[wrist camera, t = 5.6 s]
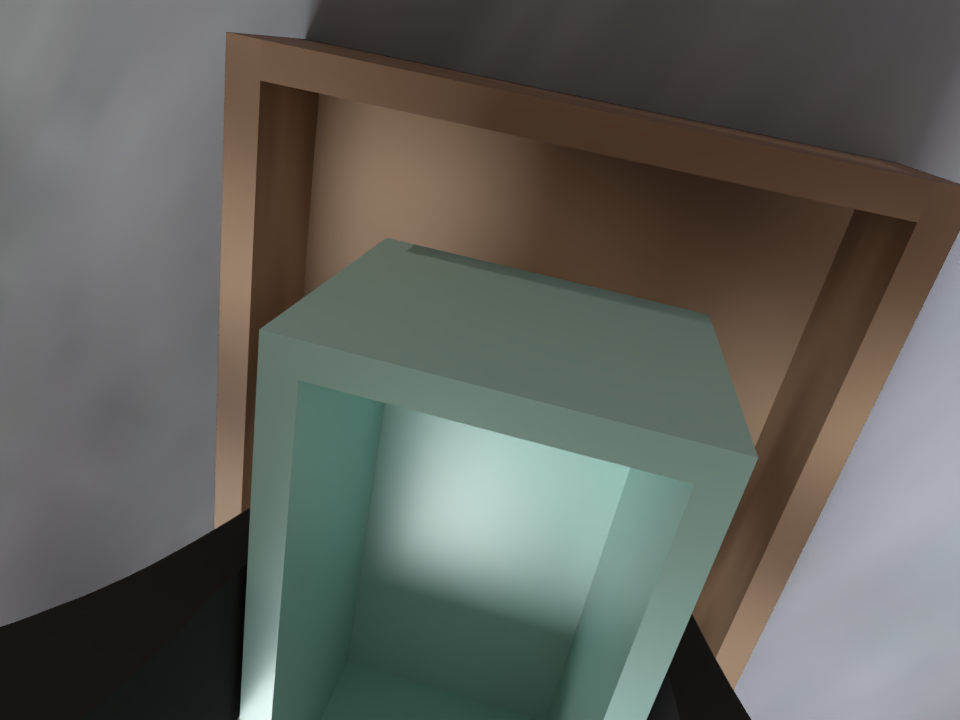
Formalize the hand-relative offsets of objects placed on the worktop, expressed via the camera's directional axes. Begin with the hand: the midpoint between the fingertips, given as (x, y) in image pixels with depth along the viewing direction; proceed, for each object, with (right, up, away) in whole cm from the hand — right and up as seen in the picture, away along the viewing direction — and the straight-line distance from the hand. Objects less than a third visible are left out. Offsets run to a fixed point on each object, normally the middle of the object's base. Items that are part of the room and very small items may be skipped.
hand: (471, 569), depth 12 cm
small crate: (0, +1, +1) cm, 2 cm away
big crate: (+1, +3, +6) cm, 7 cm away
